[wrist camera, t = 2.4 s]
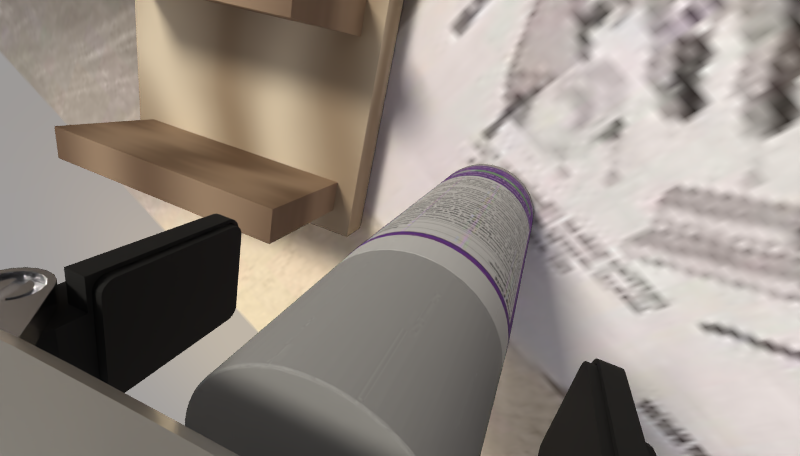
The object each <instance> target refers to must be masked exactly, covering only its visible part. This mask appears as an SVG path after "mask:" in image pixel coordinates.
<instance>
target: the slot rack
mask: <svg viewBox="0 0 800 456" xmlns="http://www.w3.org/2000/svg"><path fill="white" fill-rule="evenodd" d="M403 1H404V0H135V11H136V32H137V54H138V76H139V97H140V119H141V120H136V121H122V122H108V123H94V124H80V125H66V126H55V134H56V141H57V149H58V157H59V158H60V159H62V160H65V161H67V162H70V163H72V164H75V165H77V166H80V167H82V168H84V169H87V170H90V171H92V172H94V173H97V174H99V175H102V176H104V177H107V178H109V179H111V180H114V181H116V182H119V183H121V184H124V185H126V186H129V187H131V188H134V189H136V190H138V191H141V192H143V193H146V194H148V195H151V196H153V197H156V198H158V199H160V200H163V201H165V202H168V203H170V204H173V205H175V206H178V207H180V208H183V209H185V210H187V211H190V212H192V213H195V214H197V215H200V216H202V217H206V216H209V215H212V214H216V213H217V214H220V215H223V216H225V217H228V218H231V219H233V220H235V221H236V222H237V223H238V227H239V228H240V229H241V233H244V234H246V235H249V236H251V237H254V238H256V239H259V240H261V241H263V242H266V243H268V244H270V243H272V242H274V241H276V240H278V239H280V238H282V237H283V236H285V235H287V234H289V233H291V232H293V231H295V230H297V229H299V228H300V227H302V226H304V225H306V224H308V223H312V224H314V225H317V226H320V227H322V228H325V229H327V230H330V231H333V232H335V233H338V234H341V235H343V236H346V237H347V236H349V235H350V234H352V233H353V232H355V231H356V230H357V229H359V228H360V225H361V219H362V214H363V209H364V204H365V199H366V193H367V188H368V183H369V178H370V173H371V167H372V162H373V157H374V152H375V147H376V141H377V136H378V131H379V126H380V121H381V115H382V110H383V105H384V100H385V95H386V89H387V84H388V79H389V74H390V69H391V63H392V58H393V53H394V48H395V43H396V37H397V32H398V27H399V22H400V17H401V12H402V6H403Z"/></svg>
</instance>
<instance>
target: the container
mask: <svg viewBox="0 0 800 456" xmlns="http://www.w3.org/2000/svg"><path fill="white" fill-rule="evenodd" d="M532 221H533V205H532V201H531V198H530V195H529V193H528V191H527V189H526V188H525V186H524V185H523V183H522V182H521V181H520V180H519V179H518V178H517V177H516V176H514V175H513V174H512V173H510V172H509V171H507V170H505V169H502V168H500V167H497V166H493V165H485V164H479V165H472V166H468V167H465V168H462V169H460V170H458V171H456V172H455V173H453V174H452V175H450V176H449V177H448V178H446V179H445V180H444V181H443V182H441V183H440V184H439V185H437V186H436V187H435V188H434V189H432V190H431V191H430V192H428V193H427V194H426V195H425V196H423V197H422V198H421V199H419V200H418V201H417V202H416V203H414V204H413V205H412V206H410V207H409V208H408V209H407V210H405V211H404V212H403V213H401V214H400V215H399V216H398V217H396V218H395V219H394V220H392V221H391V222H390V223H388V224H387V225H386V226H385V227H383V228H382V229H381V230H379V231H378V232H377V233H376V234H374V235H373V236H372V237H370V238H369V239H368V240H367V241H365V242H364V243H363V244H361V245H360V246H359V247H358V248H356V249H355V250H354V251H353V252H352V253H351V254H350V255H349V256H347V257H346V258H345V259H344V260H343V261H342V262H340V263H339V264H338V265H337V266H336V267H335V268H333V269H332V270H331V271H330V272H329V273H328V274H326V275H325V276H324V277H323V278H322V279H321V280H319V281H318V282H317V283H316V284H315V285H314V286H312V287H311V288H310V289H309V290H308V291H306V292H305V293H304V294H303V295H302V296H301V297H299V298H298V299H297V300H296V301H295V302H294V303H292V304H291V305H290V306H289V307H288V308H287V309H285V310H284V311H283V312H282V313H281V314H280V315H278V316H277V317H276V318H275V319H274V320H273V321H271V322H270V323H269V324H268V325H267V326H266V327H264V328H263V329H262V330H261V331H260V332H259V333H257V334H256V335H255V336H254V337H253V338H252V339H250V340H249V341H248V342H247V343H246V344H245V345H243V346H242V347H241V348H240V349H239V350H238V351H236V352H235V353H234V354H233V355H232V356H231V357H229V358H228V359H227V360H226V361H225V362H224V363H222V364H221V365H220V366H219V367H218V368H217V369H215V370H214V371H213V372H212V373H211V374H209V375H208V376H207V377H206V378H205V379H204V380H203V381H202V382H201V383H200V384H199V385H198V387H197V388H196V389H195V391H194V393H193V395H192V397H191V399H190V401H189V405H188V408H187V412H186V418H185V426H186V427H188V428H190V429H192V430H193V431H195V432H197V433H199V434H201V435H203V436H204V437H206V438H208V439H210V440H212V441H214V442H215V443H217V444H219V445H221V446H223V447H225V448H226V449H228V450H230V451H232V452H234V453H236V454H237V455H239V456H480V454H481V450H482V446H483V442H484V438H485V434H486V430H487V426H488V422H489V418H490V414H491V410H492V406H493V402H494V398H495V394H496V390H497V386H498V382H499V379H500V375H501V371H502V367H503V363H504V359H505V355H506V352H507V347H508V343H509V338H510V333H511V328H512V323H513V318H514V313H515V308H516V303H517V298H518V293H519V288H520V283H521V278H522V273H523V268H524V263H525V258H526V253H527V248H528V243H529V238H530V233H531V228H532Z"/></svg>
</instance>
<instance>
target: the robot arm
mask: <svg viewBox="0 0 800 456" xmlns="http://www.w3.org/2000/svg"><path fill="white" fill-rule="evenodd" d="M240 246H241V229H240V228H239V227H238V223H237V222H236V221H235V220H233V219H231V218H228V217H225V216H223V215H220V214H217V213H216V214H212V215H209V216H206V217H203V218H201V219H198V220H195V221H192V222H189V223H187V224H184V225H181V226H178V227H175V228H173V229H170V230H167V231H164V232H161V233H159V234H156V235H153V236H150V237H147V238H145V239H142V240H139V241H136V242H133V243H131V244H128V245H125V246H122V247H120V248H117V249H114V250H111V251H108V252H106V253H103V254H100V255H97V256H94V257H92V258H89V259H86V260H83V261H80V262H78V263H75V264H72V265H69V266H66V267H64V271H65V280H66V281H65V282H63V283H60V284H58V285H57V279H56V277H55V275H54V274H52V273H51V272H49V271H47V270H43V269H39V268H28V267H23V268H9V269H4V270H0V456H239V455H237V454H236V453H234V452H232V451H230V450H228V449H226V448H225V447H223V446H221V445H219V444H217V443H215V442H214V441H212V440H210V439H208V438H206V437H204V436H203V435H201V434H199V433H197V432H195V431H193V430H192V429H190V428H188V427H186V426H184V425H182V424H181V423H179V422H177V421H175V420H173V419H171V418H169V417H167V416H165V415H164V414H162V413H160V412H158V411H157V410H155V409H153V408H151V407H149V406H147V405H145V404H144V403H142V402H140V401H138V400H136V399H134V398H132V397H131V396H129V395H127V394H125V392H126V391H128V390H129V389H131V388H132V387H134V386H135V385H136V384H138V383H139V382H141V381H142V380H143V379H145V378H146V377H148V376H149V375H150V374H152V373H153V372H155V371H156V370H158V369H159V368H160V367H162V366H163V365H165V364H166V363H167V362H169V361H170V360H172V359H173V358H175V357H176V356H177V355H179V354H180V353H182V352H183V351H184V350H186V349H187V348H189V347H190V346H192V345H193V344H194V343H196V342H197V341H199V340H200V339H201V338H203V337H204V336H206V335H207V334H208V333H210V332H211V331H213V330H214V329H215V328H217V327H218V326H220V325H221V324H222V323H224V322H226V321H227V320H228V319H229V318H231V316H232V315H233V313H234V311H235V309H236V300H237V286H238V273H239V259H240ZM538 456H656V453H655V451H654V449H653V447H651V446H650V445H649V444H647V443H646V442H645V439H644V435H643V432H642V428H641V425H640V422H639V418H638V415H637V411H636V408H635V404H634V401H633V397H632V394H631V390H630V387H629V384H628V380H627V377H626V373H625V371H624V369H622V368H620V367H617V366H615V365H612V364H610V363H607V362H604V361H602V360H599V359H595V360H594V361H593V362H592V363H589V362H587V361H584V362H583V363H582V365H581V367H580V369H579V370H578V372H577V374H576V376H575V378H574V380H573V382H572V384H571V386H570V388H569V390H568V392H567V394H566V396H565V398H564V400H563V402H562V404H561V406H560V408H559V410H558V412H557V414H556V416H555V418H554V420H553V422H552V423H551V425H550V427H549V429H548V431H547V433H546V435H545V437H544V439H543V441H542V443H541V446H540V449H539V454H538Z"/></svg>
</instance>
